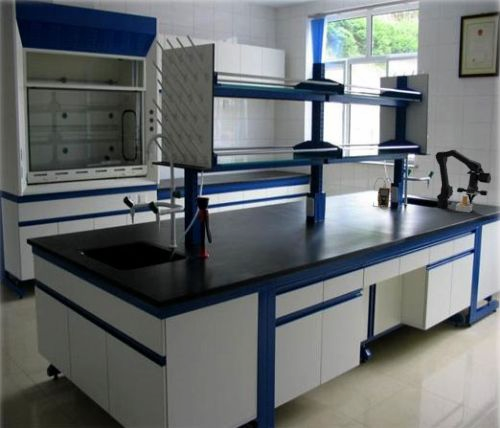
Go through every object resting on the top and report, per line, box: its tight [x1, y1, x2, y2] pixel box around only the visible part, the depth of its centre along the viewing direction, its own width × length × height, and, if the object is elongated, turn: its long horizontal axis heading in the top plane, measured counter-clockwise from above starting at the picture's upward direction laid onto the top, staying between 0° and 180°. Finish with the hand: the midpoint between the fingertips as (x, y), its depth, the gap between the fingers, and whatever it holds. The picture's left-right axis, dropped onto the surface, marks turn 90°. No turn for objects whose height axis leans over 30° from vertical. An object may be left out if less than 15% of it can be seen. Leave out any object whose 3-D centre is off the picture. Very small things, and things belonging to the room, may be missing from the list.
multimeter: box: [372, 177, 393, 208], centre depth 388 cm, size 15×10×20 cm
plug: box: [458, 195, 470, 206], centre depth 384 cm, size 6×6×9 cm
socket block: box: [455, 202, 473, 213], centre depth 385 cm, size 9×10×4 cm
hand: (470, 203), depth 379 cm, fingers closed
